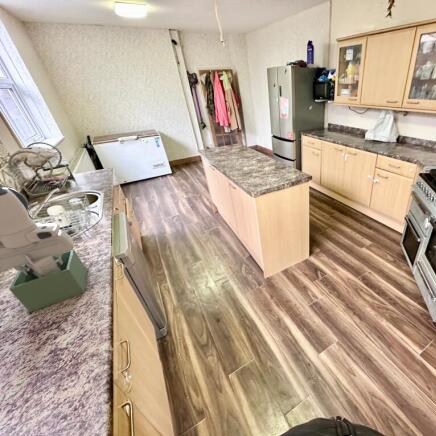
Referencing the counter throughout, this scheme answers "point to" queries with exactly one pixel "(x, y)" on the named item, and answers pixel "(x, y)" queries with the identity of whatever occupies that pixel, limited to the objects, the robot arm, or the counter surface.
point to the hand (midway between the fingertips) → (45, 268)
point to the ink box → (43, 266)
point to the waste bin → (51, 283)
